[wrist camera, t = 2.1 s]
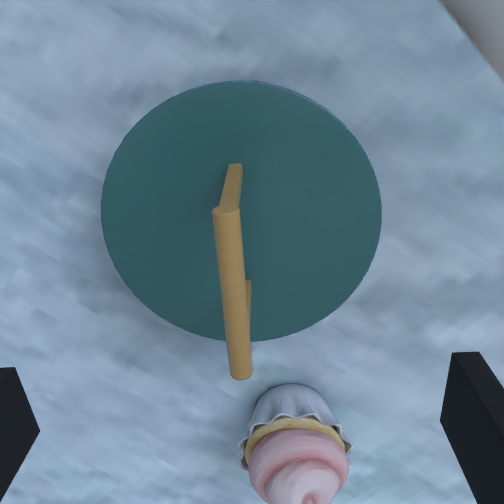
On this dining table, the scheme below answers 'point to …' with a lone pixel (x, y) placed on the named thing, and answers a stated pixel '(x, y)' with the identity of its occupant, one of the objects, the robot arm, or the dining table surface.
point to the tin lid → (241, 213)
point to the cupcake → (295, 447)
